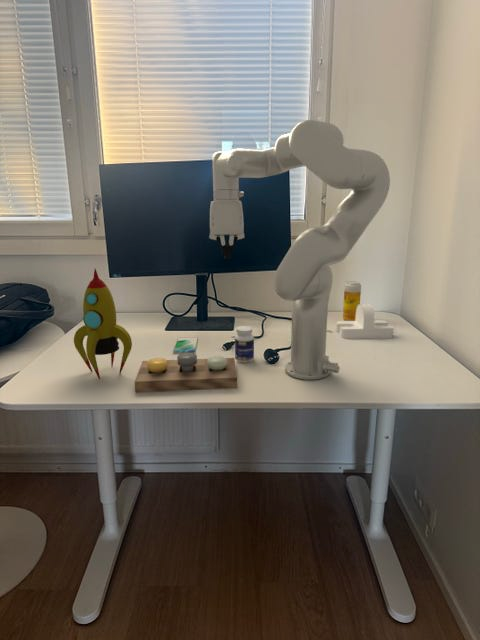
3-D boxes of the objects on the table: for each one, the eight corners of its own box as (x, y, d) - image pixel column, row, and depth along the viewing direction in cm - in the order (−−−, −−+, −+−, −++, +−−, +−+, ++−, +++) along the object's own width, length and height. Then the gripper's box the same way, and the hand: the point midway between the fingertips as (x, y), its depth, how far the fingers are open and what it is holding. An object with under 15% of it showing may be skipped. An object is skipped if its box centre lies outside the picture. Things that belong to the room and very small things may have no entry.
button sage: (226, 371, 122) (226, 355, 121) (227, 379, 117) (227, 363, 116) (207, 372, 122) (207, 356, 121) (207, 380, 117) (207, 363, 116)
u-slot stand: (393, 338, 151) (396, 307, 148) (341, 339, 150) (343, 308, 147) (384, 329, 160) (386, 301, 157) (335, 330, 160) (336, 301, 157)
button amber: (168, 373, 121) (167, 357, 120) (167, 381, 116) (166, 365, 115) (149, 374, 121) (148, 358, 120) (147, 382, 116) (145, 365, 115)
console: (234, 367, 127) (234, 357, 126) (237, 388, 113) (237, 377, 113) (143, 370, 125) (142, 360, 124) (135, 392, 112) (134, 381, 111)
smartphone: (198, 337, 152) (195, 352, 138) (198, 339, 152) (195, 355, 138) (177, 337, 152) (172, 352, 138) (177, 339, 152) (172, 355, 138)
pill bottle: (237, 364, 129) (237, 331, 127) (232, 357, 135) (232, 326, 132) (256, 361, 131) (256, 330, 128) (250, 355, 136) (250, 324, 133)
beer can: (339, 318, 173) (341, 281, 169) (353, 317, 175) (355, 280, 171) (347, 323, 167) (350, 284, 163) (361, 321, 169) (364, 283, 165)
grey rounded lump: (197, 368, 121) (197, 352, 120) (197, 376, 116) (196, 359, 115) (178, 369, 121) (177, 353, 120) (177, 376, 116) (176, 360, 115)
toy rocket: (91, 386, 116) (80, 274, 107) (76, 370, 126) (64, 266, 117) (135, 375, 123) (128, 269, 114) (117, 360, 133) (110, 262, 124)
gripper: (250, 195, 134) (250, 255, 139) (201, 196, 133) (203, 256, 138) (252, 196, 127) (252, 259, 132) (200, 196, 126) (202, 260, 131)
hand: (227, 258), depth 135 cm, fingers closed
